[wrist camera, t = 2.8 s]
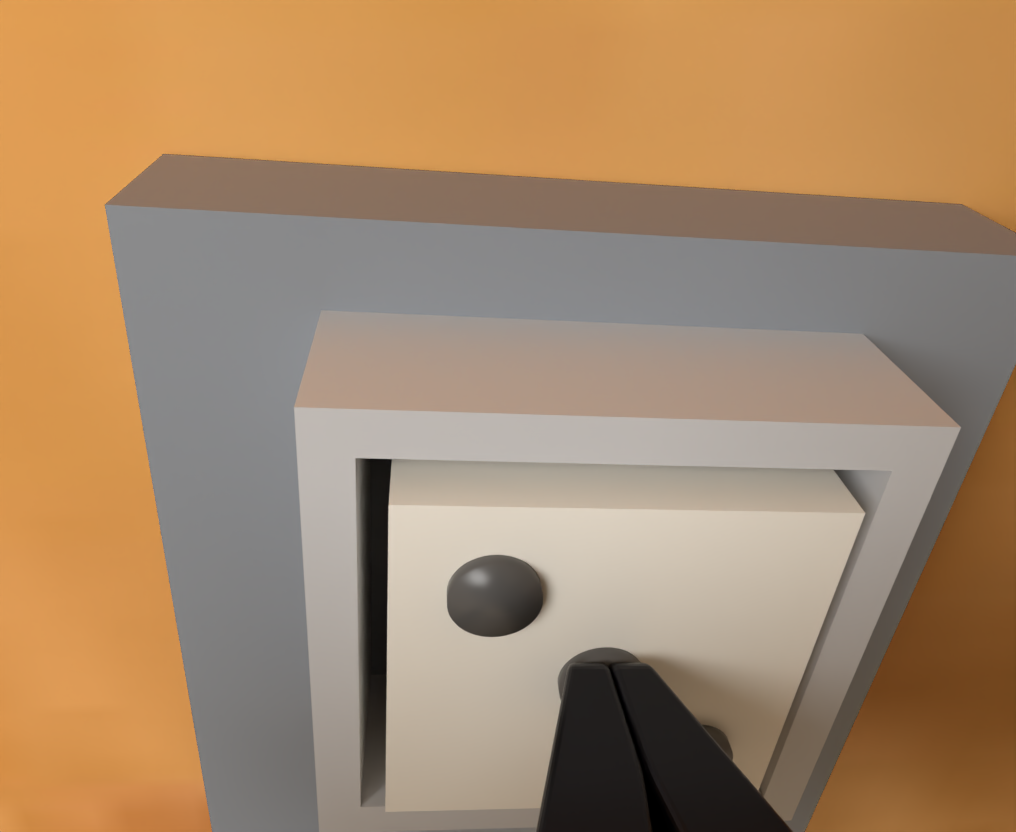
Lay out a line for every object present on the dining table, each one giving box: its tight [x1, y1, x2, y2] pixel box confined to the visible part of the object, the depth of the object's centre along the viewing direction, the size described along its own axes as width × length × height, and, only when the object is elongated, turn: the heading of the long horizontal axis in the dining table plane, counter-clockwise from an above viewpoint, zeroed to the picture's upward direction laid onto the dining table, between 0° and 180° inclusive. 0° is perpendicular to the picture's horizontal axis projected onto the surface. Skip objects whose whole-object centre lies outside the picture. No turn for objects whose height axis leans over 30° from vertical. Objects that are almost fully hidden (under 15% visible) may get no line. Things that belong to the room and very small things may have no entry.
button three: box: [385, 459, 865, 812], centre depth 9 cm, size 4×4×2 cm
